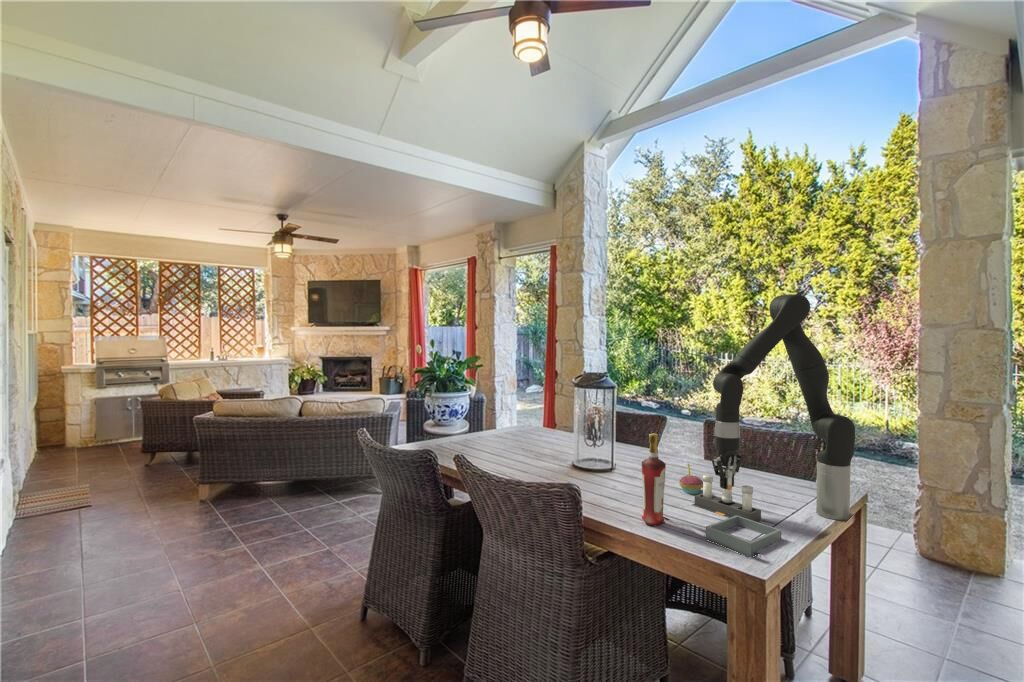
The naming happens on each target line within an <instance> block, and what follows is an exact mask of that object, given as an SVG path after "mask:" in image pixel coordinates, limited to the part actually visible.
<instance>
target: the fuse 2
mask: <svg viewBox="0 0 1024 682" xmlns="http://www.w3.org/2000/svg"><path fill="white" fill-rule="evenodd" d="M741 493H742V496H741V498H742V502H741V504H742V510H743V511H746V512H749V513H750V512H752V507H753V494H754V487H753V486H751V485H741Z"/></svg>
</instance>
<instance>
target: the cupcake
mask: <svg viewBox="0 0 1024 682" xmlns="http://www.w3.org/2000/svg"><path fill="white" fill-rule="evenodd" d="M690 468H691V467H690V463H689V462H687V473H688V475H683V476H682V477H681V478H680V479H679V483H678V484H679V486H680V487H681V489H682V491H683V493H685V494H690V495H698V494H700V491H701V489H703V479H701V478H699V477H697V476H696V475H695V476H694V475H691V469H690Z"/></svg>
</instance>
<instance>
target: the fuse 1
mask: <svg viewBox="0 0 1024 682" xmlns="http://www.w3.org/2000/svg"><path fill="white" fill-rule="evenodd" d="M713 478H714V476H713V475H711V474H703V475H702V481H703V488H702V493H703V498H706V499H709V500H710V499H712V495H713V482H714V479H713Z"/></svg>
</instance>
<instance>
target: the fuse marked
mask: <svg viewBox="0 0 1024 682" xmlns="http://www.w3.org/2000/svg"><path fill="white" fill-rule="evenodd" d="M723 471H724V472H725V470H723ZM732 476H733V471H732V470H729V471H728V476H727V478H728V488H727V489H723V488H721V489H722V494H721V498H722V502H725V503H732V501H733V495H732V494H733V493H732V491H733V487H732Z"/></svg>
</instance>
